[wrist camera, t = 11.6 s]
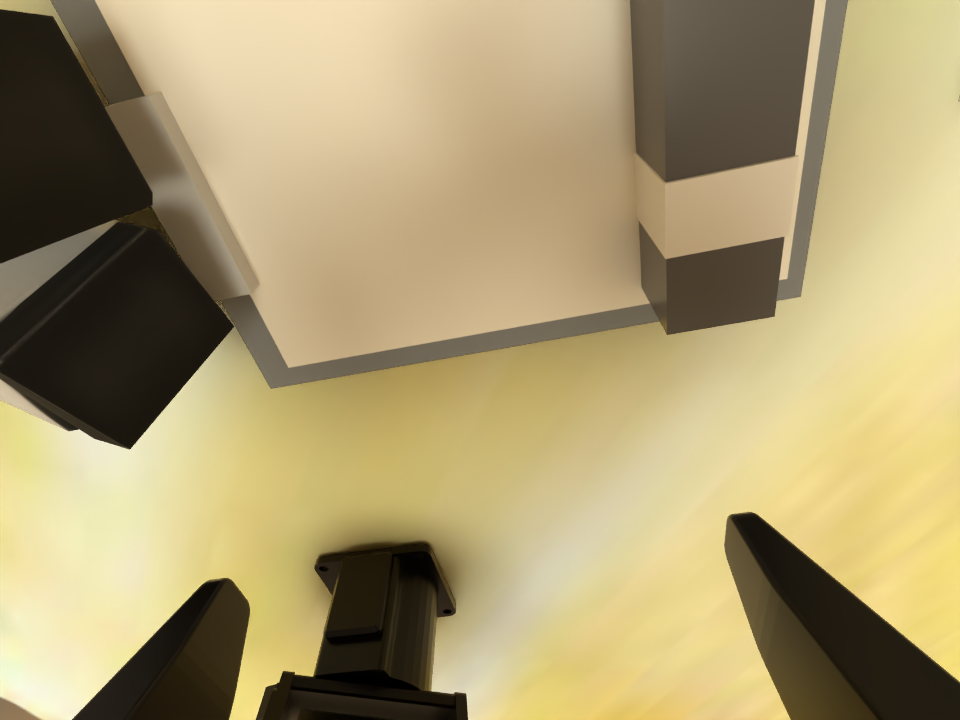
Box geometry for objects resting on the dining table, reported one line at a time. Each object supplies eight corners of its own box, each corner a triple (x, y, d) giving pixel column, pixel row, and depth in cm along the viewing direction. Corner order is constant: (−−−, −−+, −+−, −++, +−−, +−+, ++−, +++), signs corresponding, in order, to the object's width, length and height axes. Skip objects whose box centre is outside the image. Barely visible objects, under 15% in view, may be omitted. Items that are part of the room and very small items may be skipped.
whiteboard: (883, -374, 10) (950, -436, 9) (789, 286, 19) (815, 310, 17) (17, -96, 13) (-43, -109, 11) (277, 376, 21) (261, 404, 20)
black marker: (734, 270, 17) (777, 318, 15) (640, 287, 18) (666, 337, 15) (787, -461, 9) (904, -634, 7) (611, -398, 10) (657, -540, 7)
